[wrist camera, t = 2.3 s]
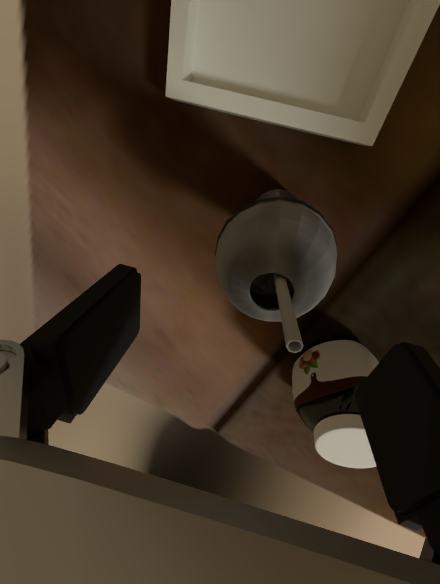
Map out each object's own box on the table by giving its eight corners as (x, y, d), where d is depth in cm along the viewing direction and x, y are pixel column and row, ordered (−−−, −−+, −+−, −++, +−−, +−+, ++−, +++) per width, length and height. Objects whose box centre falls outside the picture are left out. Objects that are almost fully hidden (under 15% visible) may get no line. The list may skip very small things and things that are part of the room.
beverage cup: (225, 218, 26) (127, 358, 9) (273, 154, 22) (255, 199, 5) (277, 260, 27) (273, 451, 10) (331, 207, 23) (460, 375, 7)
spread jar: (352, 322, 29) (389, 412, 20) (398, 378, 32) (450, 481, 23) (271, 359, 35) (268, 443, 25) (316, 404, 38) (329, 495, 28)
